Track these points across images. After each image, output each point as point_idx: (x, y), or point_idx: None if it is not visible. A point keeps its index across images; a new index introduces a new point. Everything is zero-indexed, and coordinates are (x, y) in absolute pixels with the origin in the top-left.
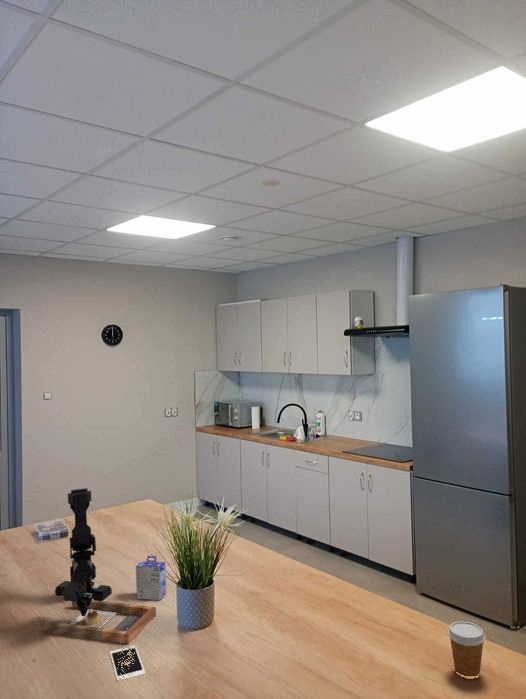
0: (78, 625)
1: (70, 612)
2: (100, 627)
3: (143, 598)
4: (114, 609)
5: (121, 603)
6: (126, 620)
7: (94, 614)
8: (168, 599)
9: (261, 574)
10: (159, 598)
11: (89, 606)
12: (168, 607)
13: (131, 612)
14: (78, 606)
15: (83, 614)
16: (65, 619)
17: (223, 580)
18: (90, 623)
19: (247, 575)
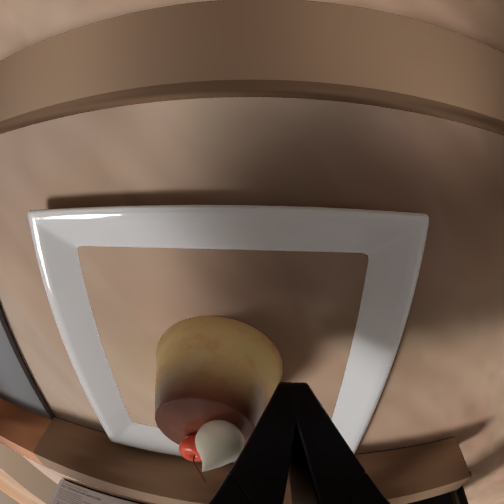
0: (127, 81)
1: (456, 410)
2: (37, 257)
3: (120, 500)
4: (131, 461)
5: (97, 486)
6: (8, 365)
7: (158, 408)
8: (49, 475)
9: (10, 489)
10: (61, 484)
11: None
12: None
13: (36, 424)
14: (365, 483)
15: (280, 397)
16: (473, 338)
17: (37, 498)
18: (192, 323)
19: (23, 496)
